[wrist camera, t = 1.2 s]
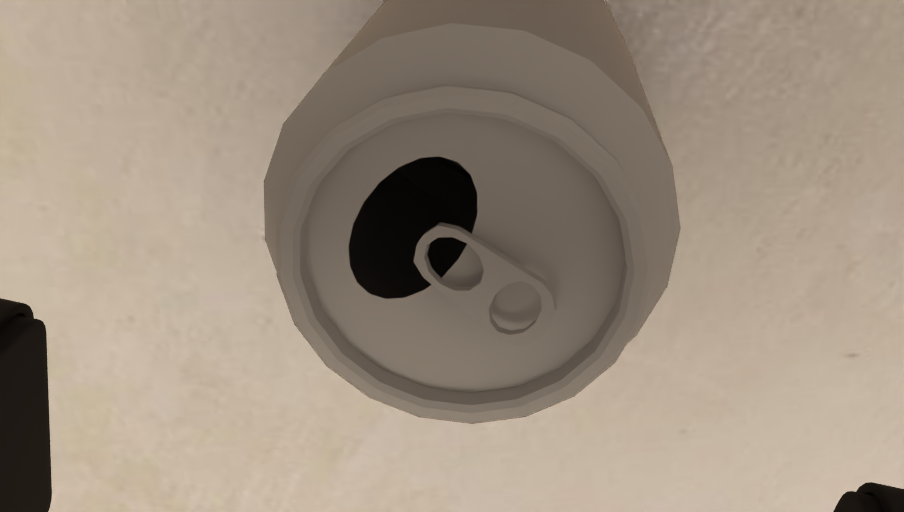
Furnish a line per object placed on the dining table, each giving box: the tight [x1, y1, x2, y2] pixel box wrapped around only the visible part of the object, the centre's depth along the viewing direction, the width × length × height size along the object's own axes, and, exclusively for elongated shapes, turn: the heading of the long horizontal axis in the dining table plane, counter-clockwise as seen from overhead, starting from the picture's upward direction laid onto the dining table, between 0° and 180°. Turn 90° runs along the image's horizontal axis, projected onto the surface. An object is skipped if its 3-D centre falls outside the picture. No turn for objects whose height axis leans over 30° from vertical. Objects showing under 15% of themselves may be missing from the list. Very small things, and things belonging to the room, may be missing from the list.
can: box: [264, 0, 680, 424], centre depth 19 cm, size 8×8×12 cm
